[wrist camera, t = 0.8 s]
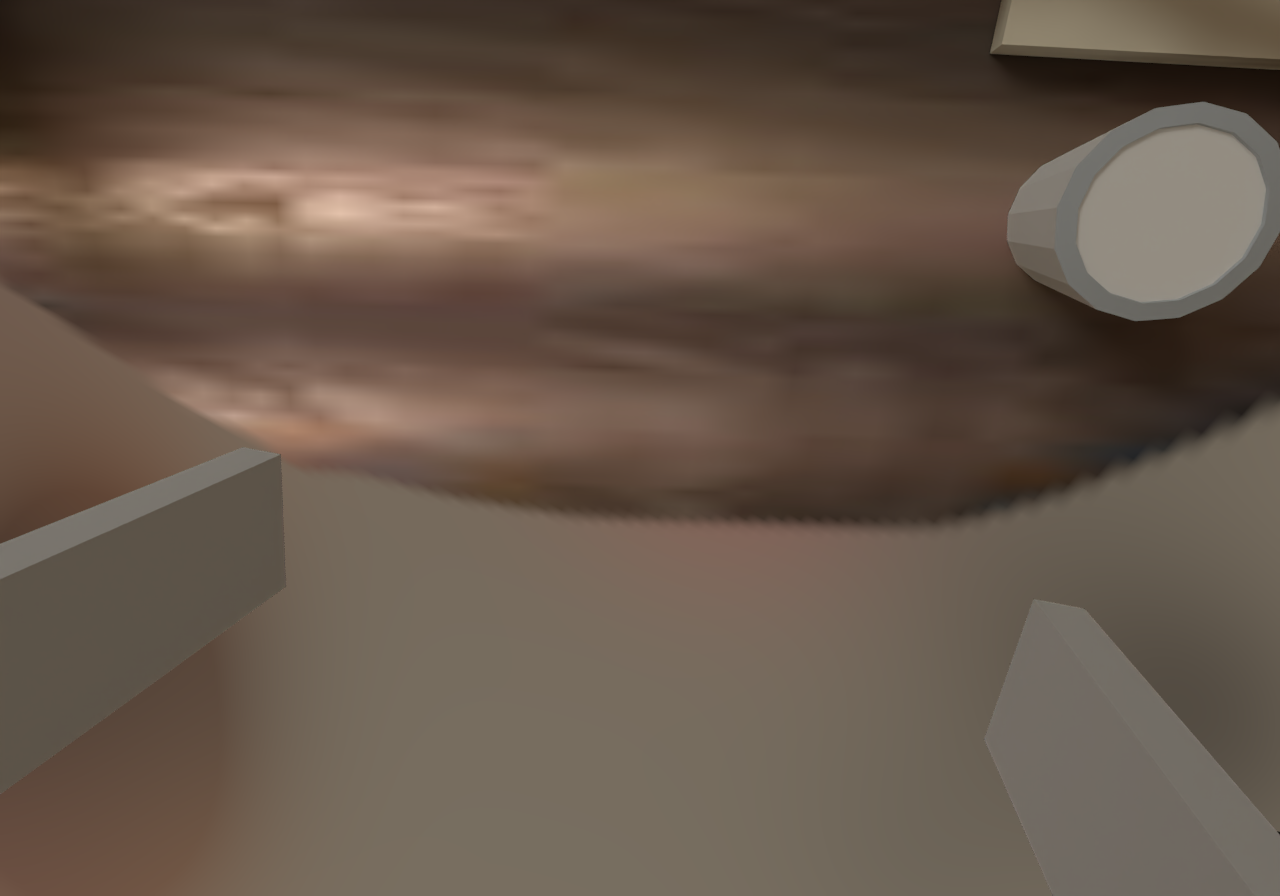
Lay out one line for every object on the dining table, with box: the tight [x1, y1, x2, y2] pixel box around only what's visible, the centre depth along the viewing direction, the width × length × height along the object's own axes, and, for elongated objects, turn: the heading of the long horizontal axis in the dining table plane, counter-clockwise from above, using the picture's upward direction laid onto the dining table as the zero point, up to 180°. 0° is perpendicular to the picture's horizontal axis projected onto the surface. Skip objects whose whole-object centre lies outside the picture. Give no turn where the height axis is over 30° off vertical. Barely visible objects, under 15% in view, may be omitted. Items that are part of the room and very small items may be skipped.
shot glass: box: [1007, 102, 1280, 321], centre depth 26 cm, size 7×7×7 cm
